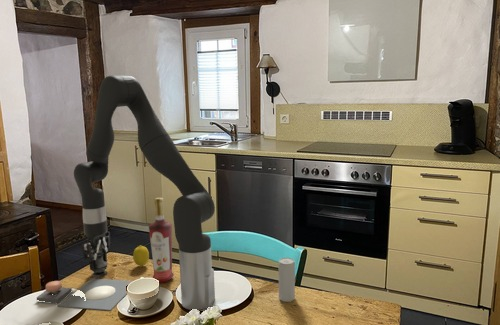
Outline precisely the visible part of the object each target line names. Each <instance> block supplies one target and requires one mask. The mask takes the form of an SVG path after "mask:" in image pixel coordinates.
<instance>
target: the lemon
mask: <svg viewBox="0 0 500 325" xmlns="http://www.w3.org/2000/svg"><path fill="white" fill-rule="evenodd" d="M132 257H133V262H134V263H135V264H136V265H137V266H140V267H141V268H142V267H143V266H144V265H146V264H147V263H148V262H149V260H150V252H149V250H148V248H147V247H146V246H143V245H138V246H137V247H136V248H134V250H133V254H132Z"/></svg>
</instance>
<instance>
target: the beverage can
mask: <svg viewBox="0 0 500 325" xmlns="http://www.w3.org/2000/svg"><path fill="white" fill-rule="evenodd" d="M295 266H296V262H295V259H293V258H291V257H282V258H279V259H278V299H279V300H280V301H282V302H284V303H290V302H293V301H294V299H295V297H296V295H295V293H296V292H295V291H296V288H295V287H296V286H295V285H296V284H295V283H296V278H295V277H296V267H295Z"/></svg>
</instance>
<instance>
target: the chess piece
mask: <svg viewBox="0 0 500 325" xmlns="http://www.w3.org/2000/svg"><path fill="white" fill-rule="evenodd" d="M95 250H96V249H92V251H95ZM92 255H94V253H92ZM96 261H97V270H95V271H93V270H91V271H92V272H93V273H91V277H92V278H95V279H98V278H102V277H106V276H107V275H108V274H109V273H108V271H107V270H106V269H107V267H108V263H109V262H108V261H107V262H106V261H104V260H103V252H102V246H101V245H100V246H99V252H98V253H97V256H96Z"/></svg>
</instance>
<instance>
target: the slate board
mask: <svg viewBox="0 0 500 325" xmlns="http://www.w3.org/2000/svg"><path fill="white" fill-rule="evenodd" d="M132 281H133V280H123V279H122V280H121V279H109V278H108V279H107V278H106V279H105V278H96V277H92V278H90V279H89V280H88V281H86V282H85V283H84V284H83V285H81V286H80V287H78V289H77V290H80V291H82V292H83V293H84V294H85V297H86V301H84V300H85V299H84V297H82V298H81V297H80V296H75V295H74V296H73V295H71V294H69V295H68V296H67V297H66V298H64V299H63V300H62V301H61V302H59V303H58V305H57V307H58V308H59V307H60V308H71V309H72V308H73V309H82V310H83V309H84V310H94V311H95V310H97V311H107V312H109V311H112V310H113V309H114V308H115V307H116V306H117V305H118V304H119V303H120V302H121V301H122V300H123V299H124V298H125V297H126V295H128V294H127V293H126V286H127V285H128V284H129V283H130V282H132ZM124 296H125V297H124ZM123 297H124V298H123Z"/></svg>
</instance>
